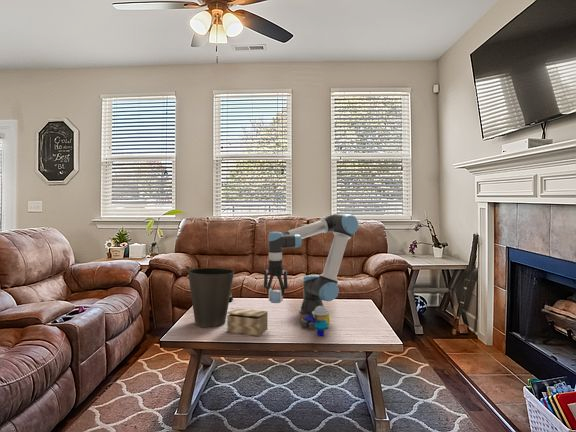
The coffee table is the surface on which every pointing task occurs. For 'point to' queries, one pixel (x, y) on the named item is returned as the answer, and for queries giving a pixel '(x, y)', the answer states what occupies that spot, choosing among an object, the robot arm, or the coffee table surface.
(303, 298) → the robot arm
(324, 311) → the toy
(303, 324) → the toy
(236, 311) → the lid
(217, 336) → the coffee table surface
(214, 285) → the waste basket
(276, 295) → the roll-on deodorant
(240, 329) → the box
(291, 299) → the coffee table surface
